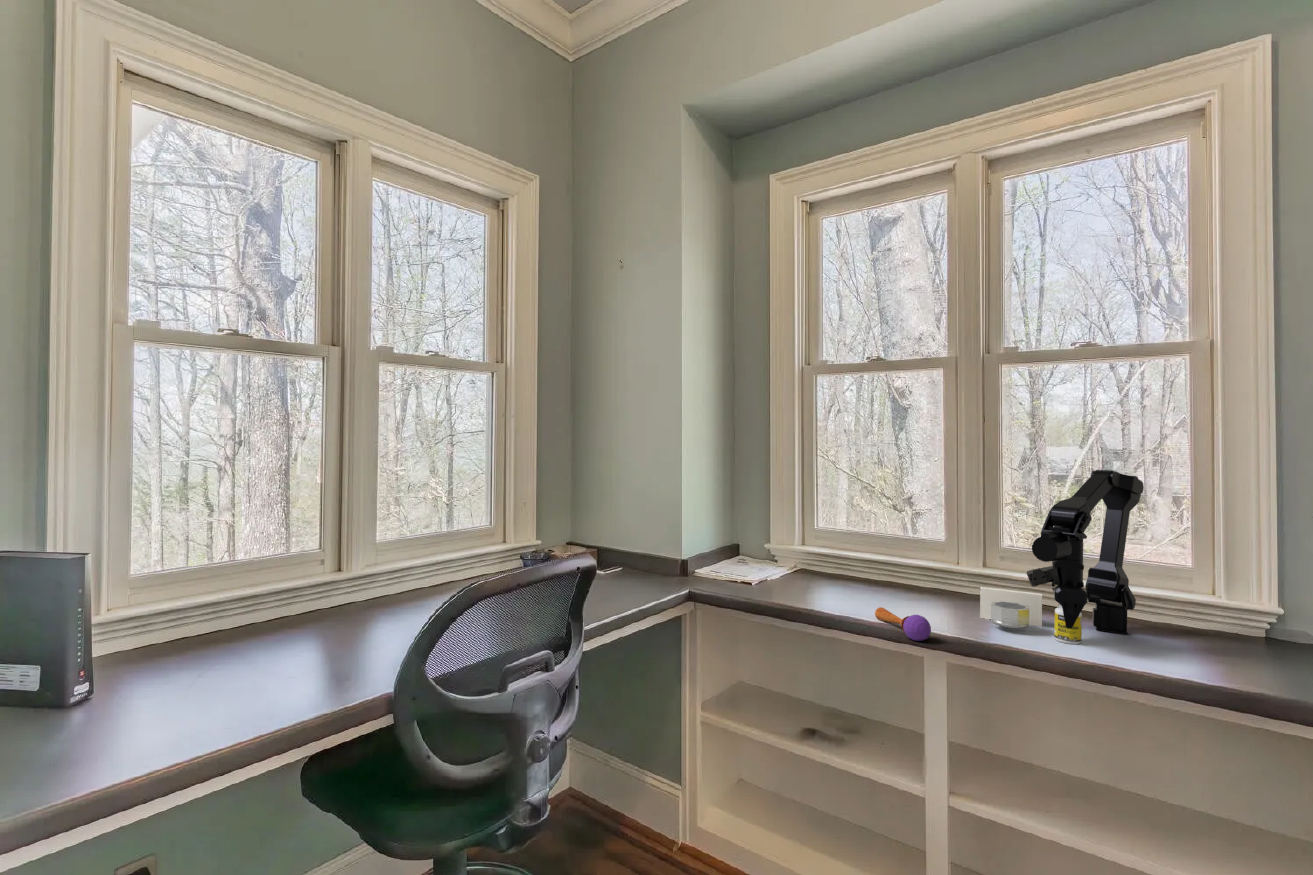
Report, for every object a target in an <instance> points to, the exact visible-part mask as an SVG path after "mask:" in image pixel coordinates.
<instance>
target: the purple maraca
mask: <svg viewBox="0 0 1313 875" xmlns="http://www.w3.org/2000/svg"><path fill="white" fill-rule="evenodd" d="M874 616H875V618H876V619H877V620H879V621H882V622H889V623H892V624H899V625H900V627H901V628H902V631H903V632H904V634H905V635H906V636H907V638H909V639H910V640H913V641H915V642H922V641H925V640H927V639H928V638H929V637H930V636H931V634H932V633H931V632H932V626H931V624H930V622H929V620H928V619H927V618H926V617H925V616H922V615H920V614H912V615H908V616H905V617H903V618H901V617H899V616H897V615H895V614H894V613H893V612H891V611H889V610H888V609H886V608H885V607H877V609H875V611H874Z"/></svg>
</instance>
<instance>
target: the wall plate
mask: <svg viewBox="0 0 1313 875" xmlns="http://www.w3.org/2000/svg"><path fill="white" fill-rule="evenodd" d="M979 593H980V594H979V597H980V598H979V603H980V604H979V605H980V606H979V618H980V619H982V618H985V619H984V620H989V619H991V603H992V602H996V601H1006V602H1014V603H1020V604H1023V605H1026V606H1029V626H1033V625H1034V626H1035V627H1040V626H1041V627H1042V626H1043V622H1042V621H1043V594H1042V593H1037V592H1030V591H1022V590H1021V591H1020V590H1012V589H1004V588H996V587H995V588H994V587H985V586H980V591H979Z"/></svg>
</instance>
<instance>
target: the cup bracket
mask: <svg viewBox="0 0 1313 875" xmlns="http://www.w3.org/2000/svg"><path fill="white" fill-rule="evenodd" d="M990 622H991V623H992V624H994V625H996V626H1000V627H1004V628H1009V629H1010V628H1011V629H1026V628H1029V627H1030V625H1029V606H1026V605H1023V604H1020V603H1014V602H1006V601H996V602H992V603H991V620H990Z"/></svg>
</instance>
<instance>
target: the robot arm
mask: <svg viewBox="0 0 1313 875" xmlns="http://www.w3.org/2000/svg"><path fill="white" fill-rule="evenodd" d="M1144 489H1145V488H1144V483H1143V480H1141V479H1140V478H1139V477H1138V476H1136V475H1128V474H1124V473H1120V472H1118V471H1115V470H1112V469H1111V470H1110V469H1109V470H1108V469H1096V470H1092V471H1091V473H1090V476H1089V478H1088V479H1087V480H1086V481H1084V483H1083V484H1082V485H1081V486H1080V488H1079V489H1078V490H1076V492H1075V493H1073V495H1072V496H1071V497H1068V498H1065V499H1062V500H1059V501H1058V502H1056V503H1055V504H1054V505H1053V506H1052V507H1051V508H1050V510H1049V511H1048V513H1047V516H1046V519H1045V520H1044V523H1043V525H1042V527H1041V530H1040V537H1037V538H1035V540H1034V541H1033V542H1032V544H1031V551H1032V554H1033V556H1034V557H1035V558H1036V559H1037V560H1039V561H1040V562H1044V563H1046V562H1052V564H1051V565H1050V566H1044V567H1038V568H1032V569H1030V570H1027V571H1026V575H1027V579H1028V581H1029V583H1030V585H1031V586H1030V587H1033V588H1034V587H1038V586H1039V585H1045V584H1048V583H1051V584H1050V585H1051V587H1052V592H1053V597H1054V601H1055V602H1057V603H1059V604H1060V605H1061V606H1062V609H1063V614H1064V619H1065V624H1066V628H1072V627H1073V625H1074V624H1075V622H1076V620H1077V618H1078V616H1079V614H1080V613H1082V611H1083V609H1084V608H1085V605H1086V604H1088V603H1090V604H1091V603H1092V604H1095V606H1094V607H1093V608H1092V626H1094V628H1095V629H1096V631H1100V632H1106V633H1114V634H1122V635H1129V634H1130V633H1129V630H1128V611H1129V610H1130V611H1134V610H1135V608H1136V604H1137V603H1136V602H1137V599H1136V598H1135V596H1134V593H1133V592H1132V590H1131V589H1130V587H1129V583H1130V582H1129V581H1130V579H1129V578H1128V576H1127V574H1126V572H1125V570H1124V568H1123V565H1124V559H1125V558H1124V556H1125V549H1126V542H1127V534H1128V529H1129V528H1128V527H1129V520H1130V513H1131V511H1132V510H1133V509H1134V508H1135V507H1136V506H1137V505H1138V504H1139V503H1140V501H1141V500H1140V499H1141V495H1142V494H1143V493H1144ZM1101 500H1102V501H1103V503H1104V505H1105V506H1106V510H1105V515H1104V516H1105V518H1104V522H1103V524H1104V525H1103V529H1102V530H1103V531H1102V536H1101V538H1102V539H1101V545H1100V551H1099V557H1098V563H1097V564H1096V565H1094V567H1089V569H1088V570H1087V579H1086V581H1085V583H1084V570H1085V564H1084V540H1085V539H1087V538H1088V535H1087V534H1085V531H1086V530H1087V528H1088V527H1089V526H1090V523H1091V521H1092V514H1091V512H1092V511H1093V509H1094V508H1095V507H1096V506H1097V505H1098V504H1099V503H1100V501H1101ZM1084 585H1085V586H1084ZM1084 588H1085V589H1084ZM1060 605H1059V606H1060Z"/></svg>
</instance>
